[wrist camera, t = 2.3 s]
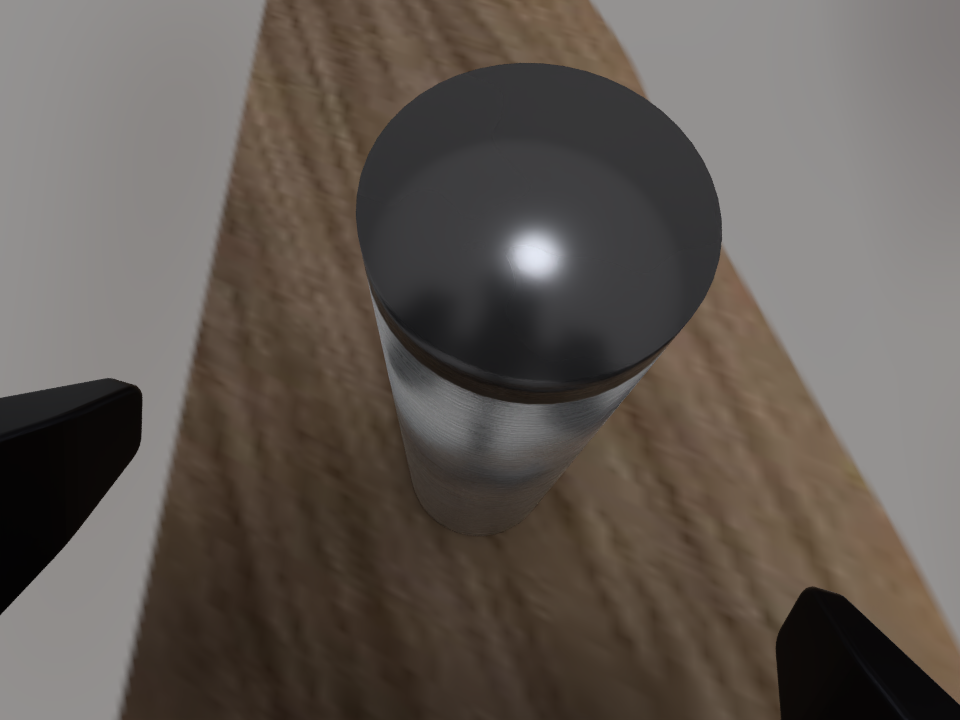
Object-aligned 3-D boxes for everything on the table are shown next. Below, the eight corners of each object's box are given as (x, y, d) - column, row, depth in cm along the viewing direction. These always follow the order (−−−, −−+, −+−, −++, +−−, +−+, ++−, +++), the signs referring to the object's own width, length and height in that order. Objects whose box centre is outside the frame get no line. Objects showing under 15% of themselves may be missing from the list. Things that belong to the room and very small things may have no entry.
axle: (414, 542, 18) (360, 393, 6) (407, 406, 20) (352, 68, 8) (553, 530, 19) (759, 366, 7) (537, 397, 20) (684, 57, 8)
